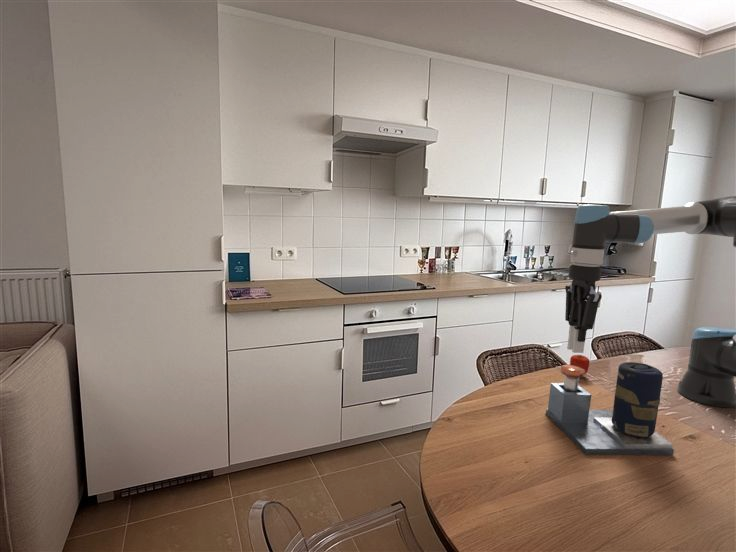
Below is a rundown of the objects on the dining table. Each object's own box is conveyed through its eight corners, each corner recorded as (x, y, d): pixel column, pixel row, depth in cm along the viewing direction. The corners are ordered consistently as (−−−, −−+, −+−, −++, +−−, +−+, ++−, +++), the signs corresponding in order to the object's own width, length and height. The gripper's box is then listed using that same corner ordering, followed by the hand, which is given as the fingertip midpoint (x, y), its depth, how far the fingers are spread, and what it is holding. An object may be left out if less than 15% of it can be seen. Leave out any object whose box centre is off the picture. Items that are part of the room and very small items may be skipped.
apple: (570, 371, 153) (572, 351, 152) (588, 375, 149) (591, 355, 148) (566, 376, 148) (569, 356, 147) (586, 380, 144) (588, 360, 143)
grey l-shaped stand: (619, 414, 120) (623, 383, 118) (673, 455, 100) (679, 418, 99) (545, 413, 119) (549, 382, 117) (585, 454, 99) (590, 417, 97)
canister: (661, 442, 101) (672, 372, 98) (618, 437, 103) (628, 368, 100) (643, 423, 110) (653, 359, 107) (605, 418, 112) (613, 355, 109)
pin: (573, 394, 117) (577, 365, 116) (585, 404, 111) (589, 373, 110) (553, 394, 117) (556, 364, 115) (564, 403, 111) (568, 373, 109)
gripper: (557, 260, 115) (548, 341, 119) (588, 267, 100) (576, 360, 104) (583, 261, 115) (573, 342, 119) (617, 268, 101) (605, 360, 105)
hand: (575, 350), depth 112 cm, fingers open, 2 cm apart
